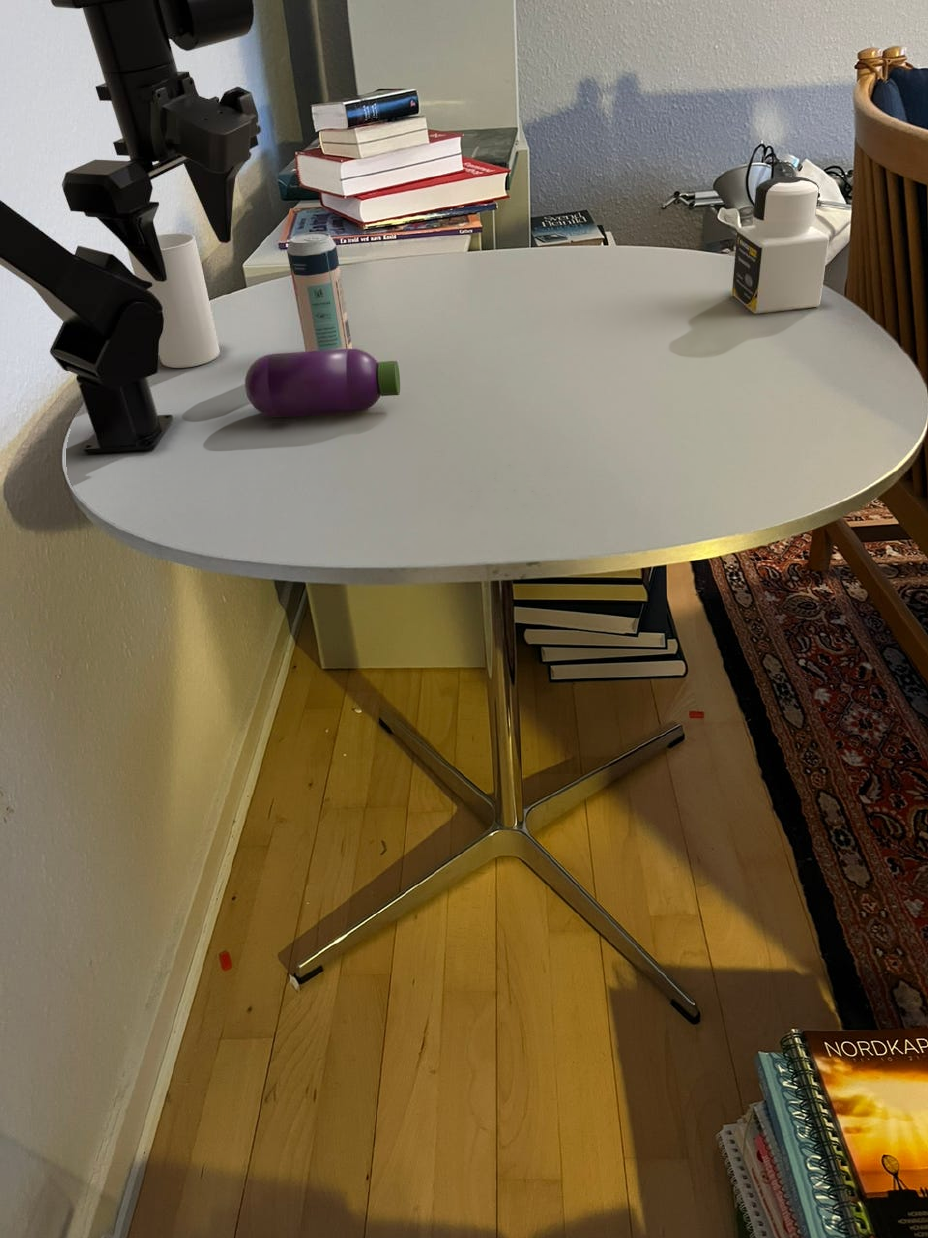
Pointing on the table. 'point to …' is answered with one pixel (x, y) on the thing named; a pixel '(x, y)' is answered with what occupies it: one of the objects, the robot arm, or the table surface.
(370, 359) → the eggplant
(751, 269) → the medicine bottle
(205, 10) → the robot arm
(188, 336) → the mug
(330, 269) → the pink upright cylinder
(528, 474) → the table surface
